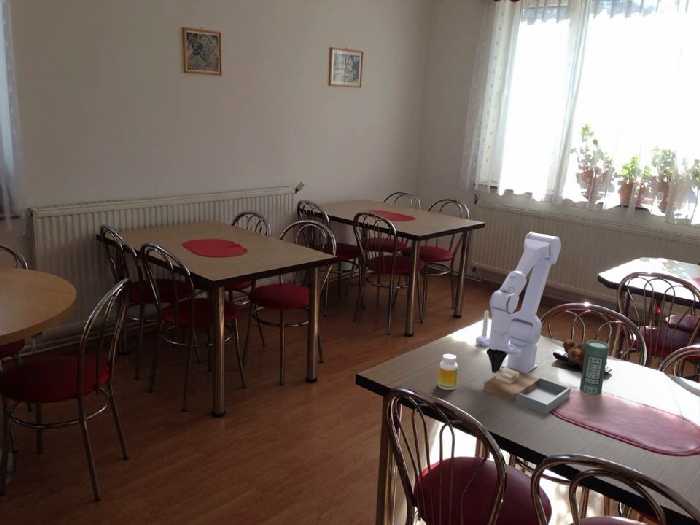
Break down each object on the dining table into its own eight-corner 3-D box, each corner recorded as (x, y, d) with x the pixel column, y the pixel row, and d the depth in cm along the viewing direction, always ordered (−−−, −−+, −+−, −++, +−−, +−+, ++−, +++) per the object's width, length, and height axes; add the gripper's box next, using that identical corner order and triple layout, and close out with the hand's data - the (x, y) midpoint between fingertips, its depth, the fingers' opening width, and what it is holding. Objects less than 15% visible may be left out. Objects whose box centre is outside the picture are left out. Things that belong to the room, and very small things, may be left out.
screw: (492, 344, 220) (487, 348, 216) (479, 341, 222) (474, 345, 218) (496, 309, 216) (491, 313, 212) (482, 306, 219) (477, 310, 215)
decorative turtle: (566, 356, 213) (570, 334, 211) (610, 370, 203) (614, 347, 201) (553, 363, 206) (556, 341, 204) (598, 379, 196) (602, 355, 194)
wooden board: (510, 374, 196) (511, 367, 195) (539, 385, 189) (540, 378, 189) (483, 390, 185) (484, 382, 184) (513, 402, 178) (514, 394, 177)
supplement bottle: (455, 391, 183) (458, 361, 181) (437, 389, 184) (439, 358, 182) (456, 383, 188) (459, 353, 186) (438, 381, 189) (441, 351, 187)
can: (601, 388, 190) (609, 343, 186) (600, 396, 184) (608, 349, 180) (580, 384, 192) (587, 338, 188) (578, 392, 187) (586, 345, 183)
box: (539, 386, 189) (540, 377, 188) (569, 397, 183) (570, 387, 182) (514, 402, 178) (515, 392, 178) (545, 414, 172) (547, 404, 171)
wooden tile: (503, 373, 191) (504, 367, 191) (518, 378, 188) (519, 372, 187) (495, 377, 187) (496, 371, 187) (510, 383, 184) (511, 377, 184)
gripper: (472, 326, 188) (468, 367, 192) (515, 340, 179) (510, 383, 183) (484, 321, 193) (480, 361, 197) (527, 334, 184) (521, 376, 188)
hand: (495, 371), depth 190 cm, fingers closed
